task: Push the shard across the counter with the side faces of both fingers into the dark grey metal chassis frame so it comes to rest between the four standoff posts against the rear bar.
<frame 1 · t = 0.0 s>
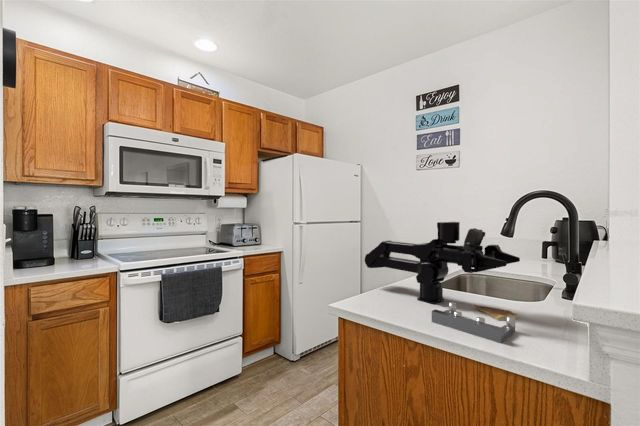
hand: (513, 261, 89), 17 cm above the worktop, tool horizontal, fingers open, 9 cm apart
shard: (493, 317, 94), on the worktop
chassis: (478, 323, 88), on the worktop
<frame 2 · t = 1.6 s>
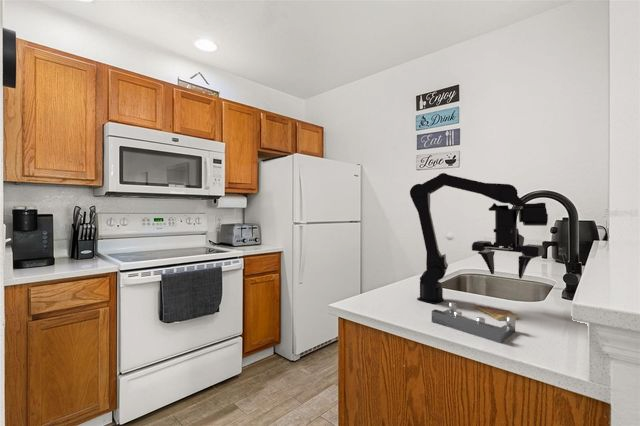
hand: (506, 276, 99), 10 cm above the worktop, tool pointing down, fingers open, 8 cm apart
nothing on the worktop moved.
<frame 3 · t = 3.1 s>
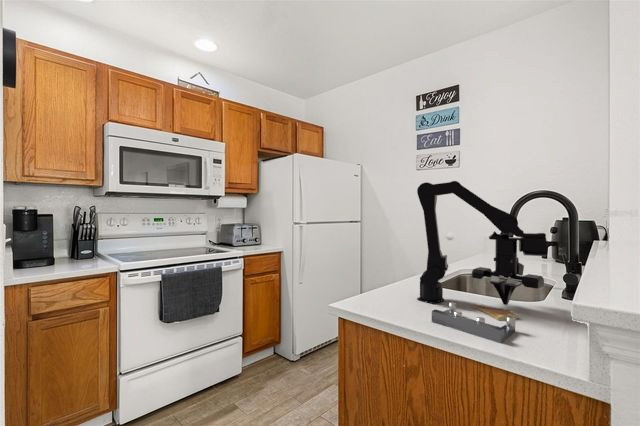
hand: (505, 304, 99), 1 cm above the worktop, tool pointing down, fingers closed
nothing on the worktop moved.
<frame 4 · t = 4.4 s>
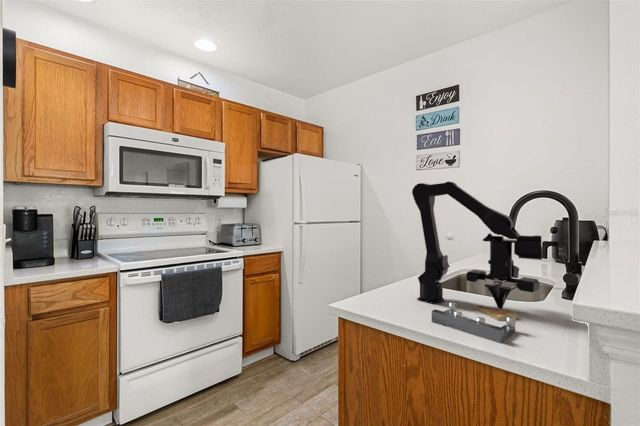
hand: (500, 308, 97), 1 cm above the worktop, tool pointing down, fingers closed
shard: (493, 317, 94), on the worktop, touching gripper
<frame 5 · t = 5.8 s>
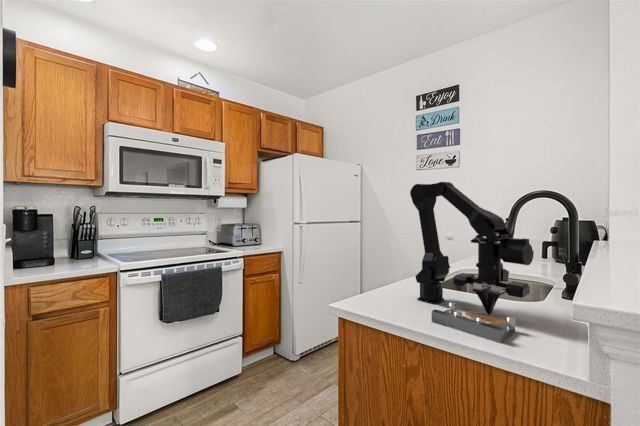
hand: (489, 313, 92), 1 cm above the worktop, tool pointing down, fingers closed
shard: (482, 324, 89), on the worktop, touching gripper
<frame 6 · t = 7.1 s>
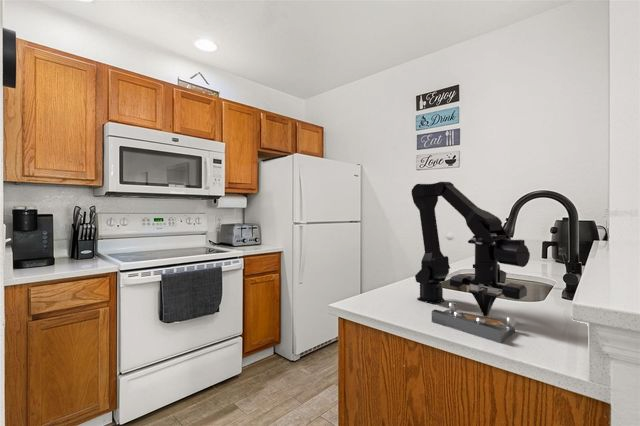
hand: (485, 315, 91), 1 cm above the worktop, tool pointing down, fingers closed
shard: (478, 326, 88), on the worktop
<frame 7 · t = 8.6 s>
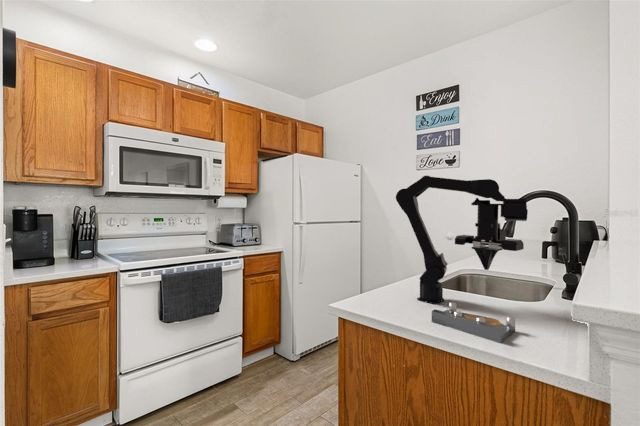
hand: (486, 269, 101), 12 cm above the worktop, tool pointing down, fingers closed
nothing on the worktop moved.
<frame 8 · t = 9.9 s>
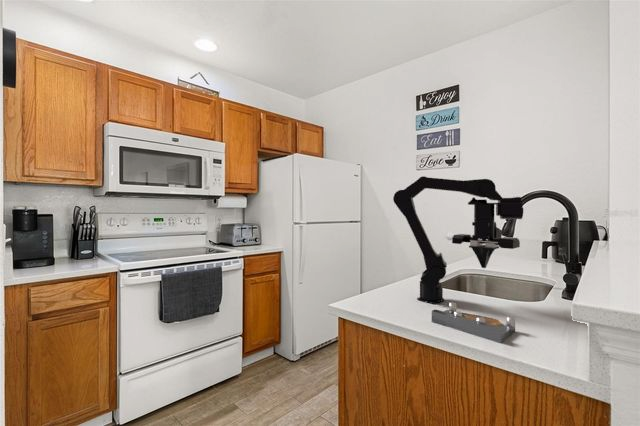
hand: (483, 267, 103), 12 cm above the worktop, tool pointing down, fingers closed
nothing on the worktop moved.
at the end: shard 0.4 cm from the target spot, on the worktop; shard tilted 0° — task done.
